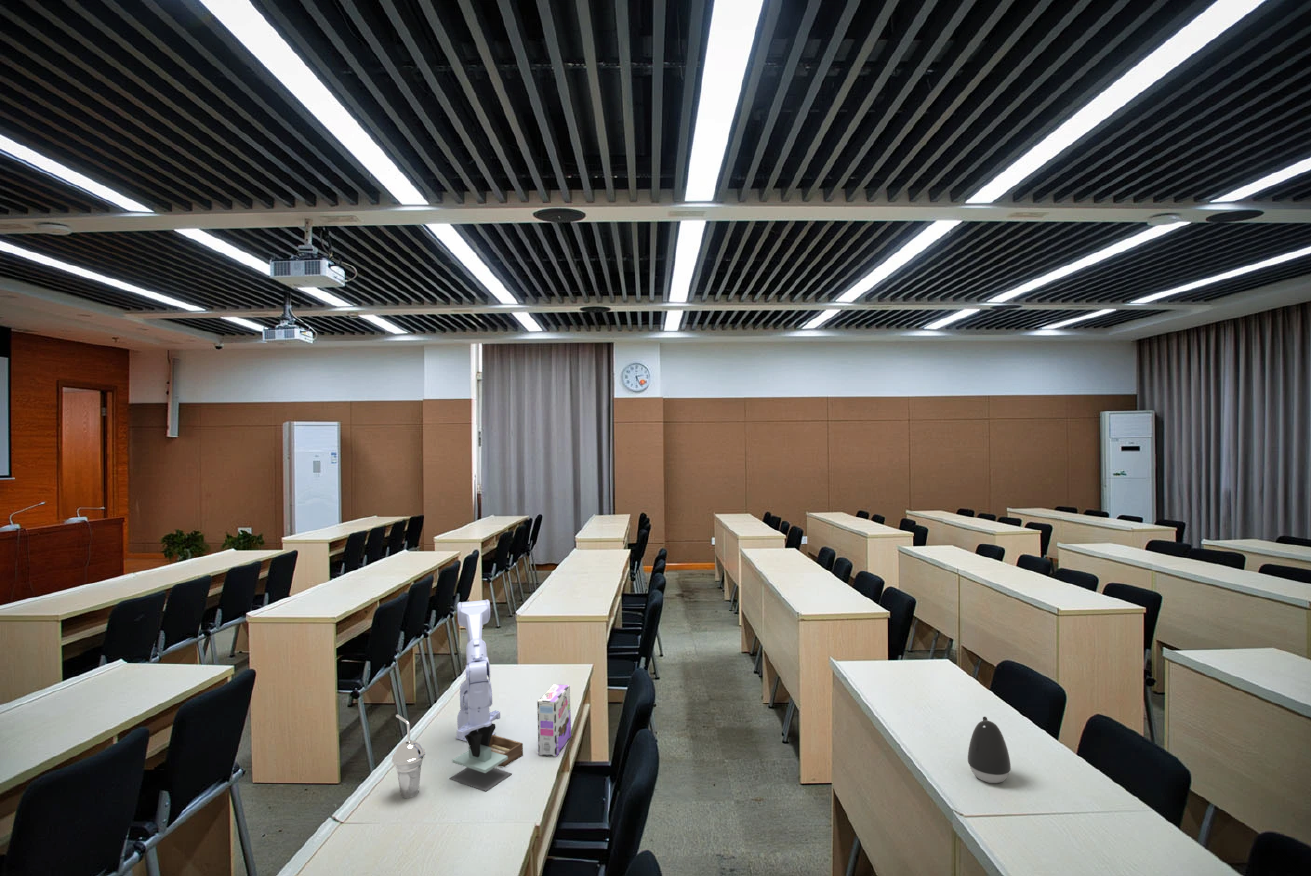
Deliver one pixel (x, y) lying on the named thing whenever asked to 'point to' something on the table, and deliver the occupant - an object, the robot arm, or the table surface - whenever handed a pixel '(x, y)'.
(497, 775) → the mat
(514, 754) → the chalk box
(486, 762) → the lid
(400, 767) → the cup with straw
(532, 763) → the table surface
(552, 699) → the candy box
